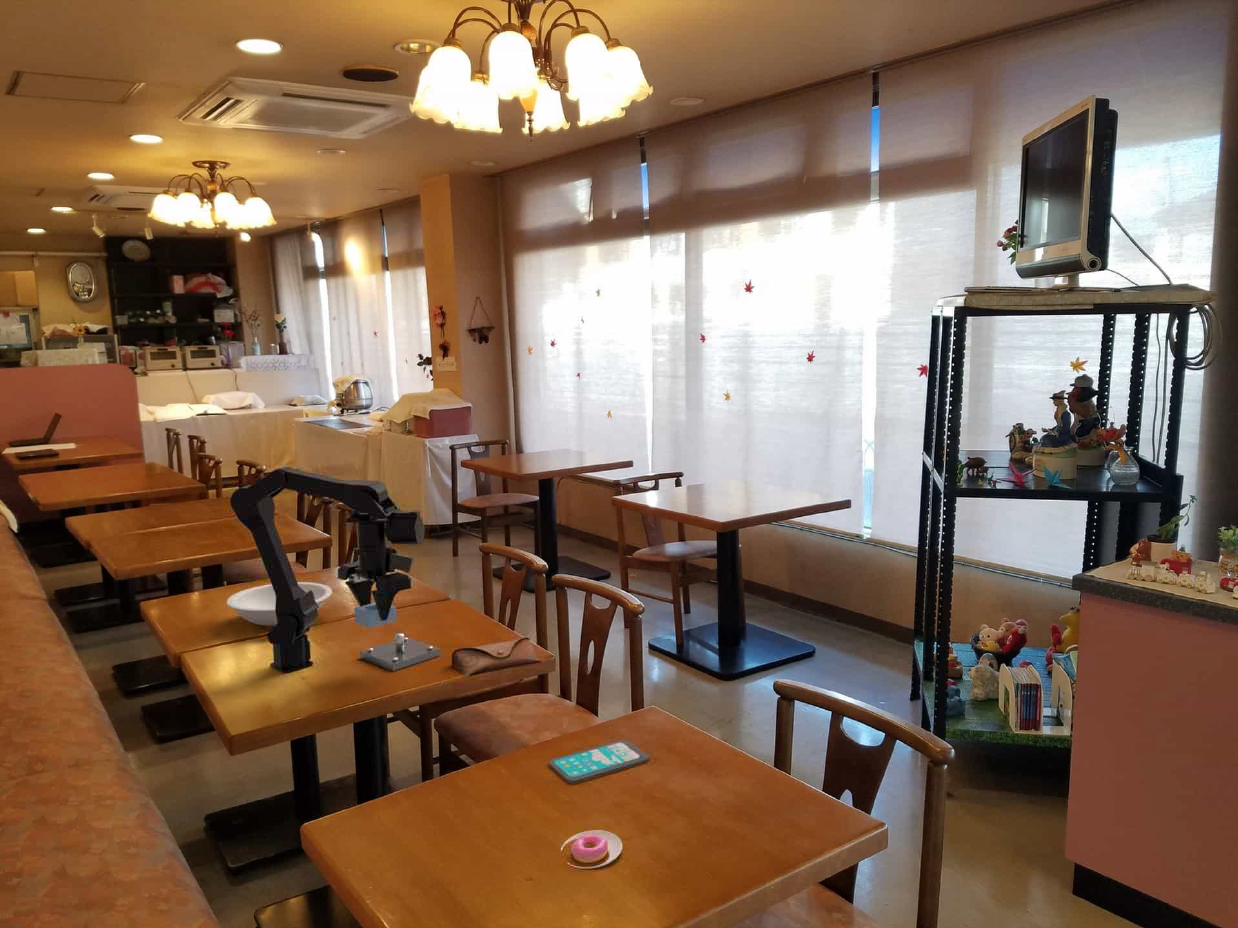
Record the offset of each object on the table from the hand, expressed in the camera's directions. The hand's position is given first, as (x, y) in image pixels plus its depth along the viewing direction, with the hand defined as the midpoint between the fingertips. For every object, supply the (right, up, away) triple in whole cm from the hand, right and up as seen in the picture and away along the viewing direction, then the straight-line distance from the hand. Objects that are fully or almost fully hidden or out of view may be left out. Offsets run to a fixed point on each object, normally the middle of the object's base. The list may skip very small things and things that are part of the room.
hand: (375, 617), depth 181 cm
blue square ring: (0, -1, 0) cm, 1 cm away
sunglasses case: (+25, -11, +5) cm, 27 cm away
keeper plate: (+3, -10, +8) cm, 13 cm away
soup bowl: (-32, -7, +33) cm, 47 cm away
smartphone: (+47, -17, -40) cm, 64 cm away
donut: (+48, -21, -63) cm, 82 cm away
